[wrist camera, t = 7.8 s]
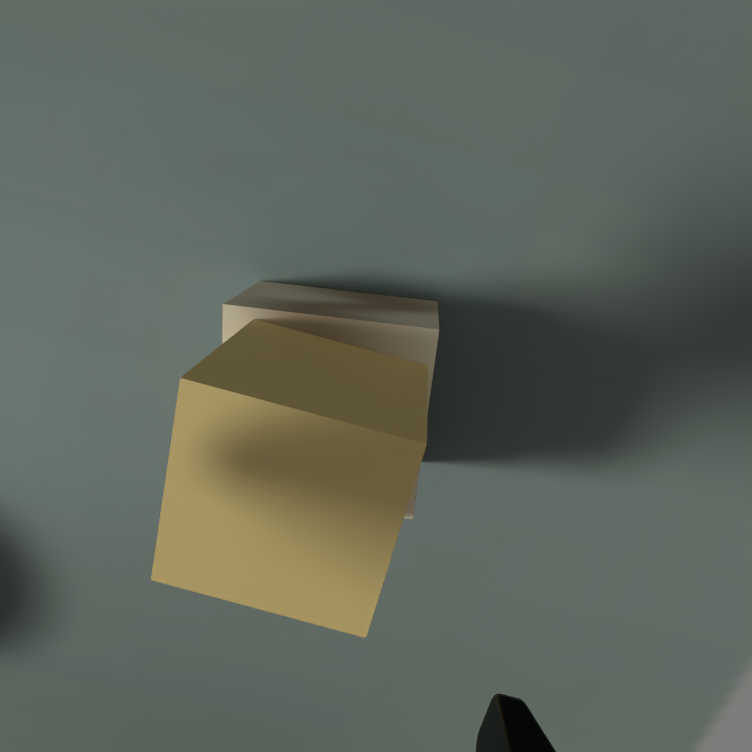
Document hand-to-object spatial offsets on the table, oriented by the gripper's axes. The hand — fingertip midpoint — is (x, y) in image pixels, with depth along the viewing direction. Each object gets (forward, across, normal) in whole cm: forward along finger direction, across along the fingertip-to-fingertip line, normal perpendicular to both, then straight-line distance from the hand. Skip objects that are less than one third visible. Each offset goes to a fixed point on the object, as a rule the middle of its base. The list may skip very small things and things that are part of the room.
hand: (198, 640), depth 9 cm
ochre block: (+9, 0, 0) cm, 9 cm away
